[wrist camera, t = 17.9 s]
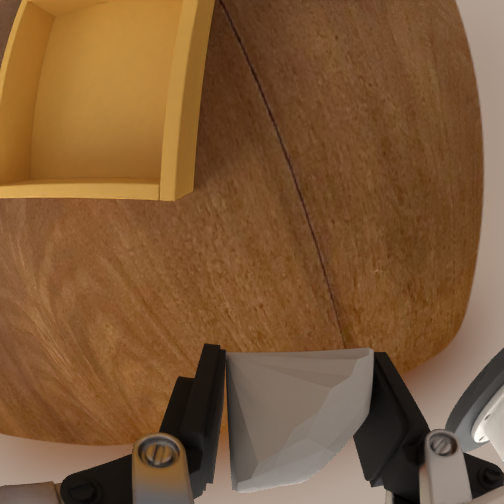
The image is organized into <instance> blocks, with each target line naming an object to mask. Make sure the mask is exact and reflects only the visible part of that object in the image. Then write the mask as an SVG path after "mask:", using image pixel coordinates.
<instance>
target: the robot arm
mask: <svg viewBox="0 0 504 504" xmlns="http://www.w3.org/2000/svg"><path fill="white" fill-rule="evenodd" d="M225 360H226V350H223V349H220V345H214V344H204V347H203V350H202V354H201V357H200V361H199V364H198V368H197V371H196V375H195V378H187V377H181V376H179V377H178V379H177V381H176V384H175V387H174V389H173V392H172V395H171V398H170V401H169V404H168V407H167V410H166V412H165V415H164V418H163V421H162V424H161V427H160V430H159V432H155V433H149V434H146V435H143V436H142V437H140V438H139V439H137V441H136V442H135V443H134V445H133V449H132V454H130V455H127V456H125V457H122V458H119V459H116V460H114V461H111V462H108V463H105V464H102V465H99V466H96V467H93V468H90V469H87V470H83V471H80V472H77V473H74V474H71V475H69V476H67V477H66V478H65V479H64V480H63V482H62V483H58V484H54V482H44V483H34V484H22V485H5V486H1V487H0V504H194V499H195V498H197V497H199V496H201V495H202V493H203V490H204V491H205V489H206V483H211V484H212V483H213V478H214V470H215V463H216V456H217V448H218V440H219V434H220V426H221V419H222V412H223V400H224V379H225ZM471 435H472V437H473V439H474V441H475V442H477V443H478V442H485V441H488V440H490V442H491V443H492V445H493V447H494V448H495V449H496V451H497V452H498V454H499V456H500V457H501V459H502V461H503V462H504V384H503V385H502V386H501V388H500V389H499V390H498V391H497V392H496V393H495V394H494V396H493V397H492V398H491V399H490V400H489V402H488V403H487V404H486V406H485V407H484V408H483V410H482V411H481V413H480V414H479V416H478V417H477V419H476V421H475V423H474V425H473V427H472V431H471ZM353 438H354V442H355V445H356V449H357V452H358V456H359V459H360V463H361V466H362V469H363V473H364V477H365V479H366V480H367V481H370V484H371V487H377V486H382V485H384V488H385V489H386V502H385V504H504V473H503V472H502V470H501V469H500V468H499V467H498V466H497V465H495V464H493V463H490V462H488V461H485V460H482V459H479V458H477V457H474V456H471V455H469V454H466V453H464V452H463V451H462V447H461V443H460V441H459V439H458V437H457V436H456V435H455V434H454V433H452V432H451V431H448V430H445V429H435V430H433V431H430V429H429V427H428V424H427V422H426V420H425V419H424V417H423V415H422V413H421V411H420V410H419V408H418V406H417V404H416V402H415V401H414V399H413V397H412V395H411V394H410V392H409V390H408V388H407V387H406V385H405V383H404V382H403V380H402V378H401V376H400V375H399V373H398V371H397V370H396V368H395V366H394V365H393V363H392V361H391V360H390V358H389V356H388V355H387V353H386V352H374V362H373V382H372V394H371V402H370V409H369V414H368V416H367V417H366V419H365V421H364V422H363V424H362V425H361V426H360V427H359V429H358V430H357V431H356V433H355V434H354V435H353Z"/></svg>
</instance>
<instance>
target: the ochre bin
mask: <svg viewBox="0 0 504 504" xmlns="http://www.w3.org/2000/svg"><path fill="white" fill-rule="evenodd" d="M214 3H215V0H22V2H21V4H20V7H19V10H18V12H17V15H16V18H15V21H14V23H13V26H12V29H11V33H10V36H9V39H8V42H7V46H6V50H5V53H4V57H3V61H2V65H1V70H0V198H41V197H56V198H114V199H141V200H162V201H175V200H177V199H179V198H181V197H183V196H185V195H187V194H189V193H191V192H193V186H194V170H195V157H196V144H197V133H198V122H199V112H200V103H201V94H202V85H203V77H204V69H205V61H206V54H207V47H208V40H209V33H210V27H211V21H212V15H213V9H214Z"/></svg>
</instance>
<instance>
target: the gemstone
mask: <svg viewBox="0 0 504 504" xmlns="http://www.w3.org/2000/svg"><path fill="white" fill-rule="evenodd" d="M225 361H226V388H227V410H228V431H229V448H230V465H231V480H232V490H235V491H237V492H243V493H248V492H254V491H259V490H264V489H269V488H274V487H278V486H284V485H291V484H298V483H303V482H305V481H306V480H308V479H309V478H311V477H312V476H313V475H314V474H316V473H317V472H318V471H319V470H321V469H322V468H323V467H324V466H325V465H326V464H327V463H328V462H329V461H330V460H331V459H332V458H333V457H334V456H335V455H336V454H337V453H338V452H339V451H340V450H341V449H342V448H343V447H344V446H345V444H346V443H347V442H348V441H349V440H350V439H351V438H352V436H353V435H354V434H355V433H356V431H357V430H358V429H359V427H360V426H361V425H362V424H363V422H364V421H365V419H366V417H367V416H368V414H369V409H370V402H371V394H372V382H373V362H374V350H372V349H370V348H357V349H345V350H329V351H310V352H275V353H241V352H226V360H225Z"/></svg>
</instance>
